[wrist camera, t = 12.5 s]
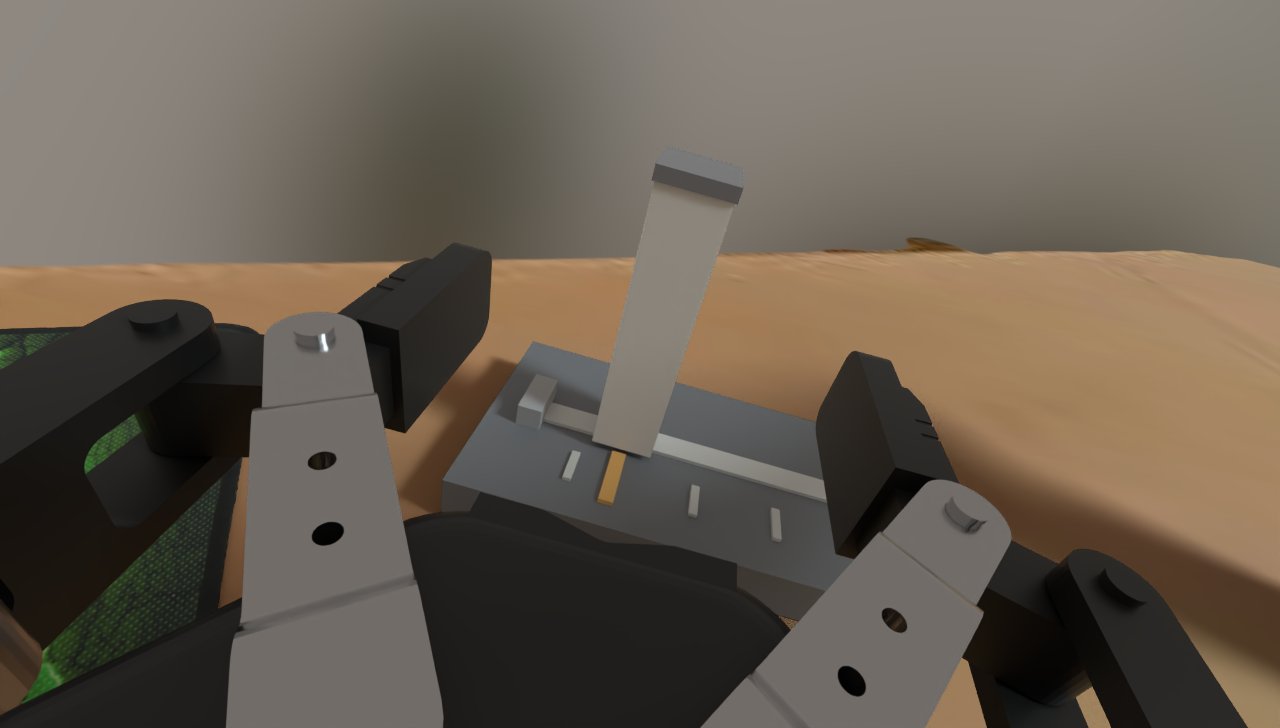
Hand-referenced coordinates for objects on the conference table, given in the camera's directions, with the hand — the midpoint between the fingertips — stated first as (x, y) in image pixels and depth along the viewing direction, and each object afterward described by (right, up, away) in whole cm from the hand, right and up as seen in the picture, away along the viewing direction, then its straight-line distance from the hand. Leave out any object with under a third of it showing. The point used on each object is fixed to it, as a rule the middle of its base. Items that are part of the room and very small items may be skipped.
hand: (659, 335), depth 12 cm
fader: (-1, -4, +16) cm, 16 cm away
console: (+2, -7, +17) cm, 19 cm away
